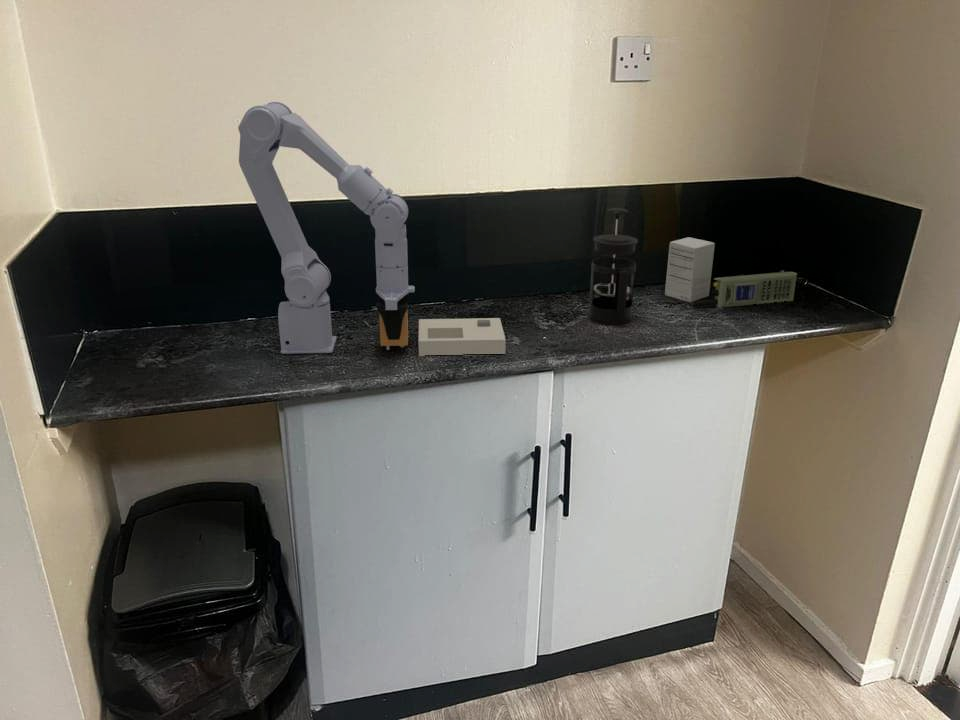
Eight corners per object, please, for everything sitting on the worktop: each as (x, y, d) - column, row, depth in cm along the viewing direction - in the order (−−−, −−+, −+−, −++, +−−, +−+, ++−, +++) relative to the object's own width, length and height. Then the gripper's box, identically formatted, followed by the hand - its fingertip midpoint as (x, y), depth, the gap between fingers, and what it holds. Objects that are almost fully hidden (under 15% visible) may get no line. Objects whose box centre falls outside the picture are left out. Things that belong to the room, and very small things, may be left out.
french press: (580, 311, 167) (587, 204, 158) (622, 308, 169) (630, 203, 160) (597, 329, 157) (605, 216, 148) (641, 327, 158) (652, 214, 149)
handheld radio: (795, 302, 174) (697, 312, 168) (786, 299, 177) (689, 307, 171) (799, 273, 172) (700, 282, 166) (790, 270, 175) (692, 278, 169)
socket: (418, 356, 143) (418, 337, 141) (419, 333, 154) (418, 315, 152) (505, 354, 144) (505, 335, 142) (499, 332, 155) (500, 314, 153)
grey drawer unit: (683, 289, 183) (688, 236, 178) (709, 296, 177) (716, 242, 172) (663, 295, 178) (668, 241, 173) (690, 302, 173) (696, 247, 168)
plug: (380, 350, 144) (379, 315, 141) (381, 343, 148) (380, 308, 145) (407, 350, 144) (406, 314, 142) (408, 342, 148) (407, 307, 145)
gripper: (413, 275, 133) (415, 348, 139) (414, 253, 147) (416, 321, 152) (372, 275, 133) (375, 349, 138) (377, 254, 146) (380, 321, 151)
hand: (394, 334), depth 145 cm, fingers closed on plug, 4 cm apart
